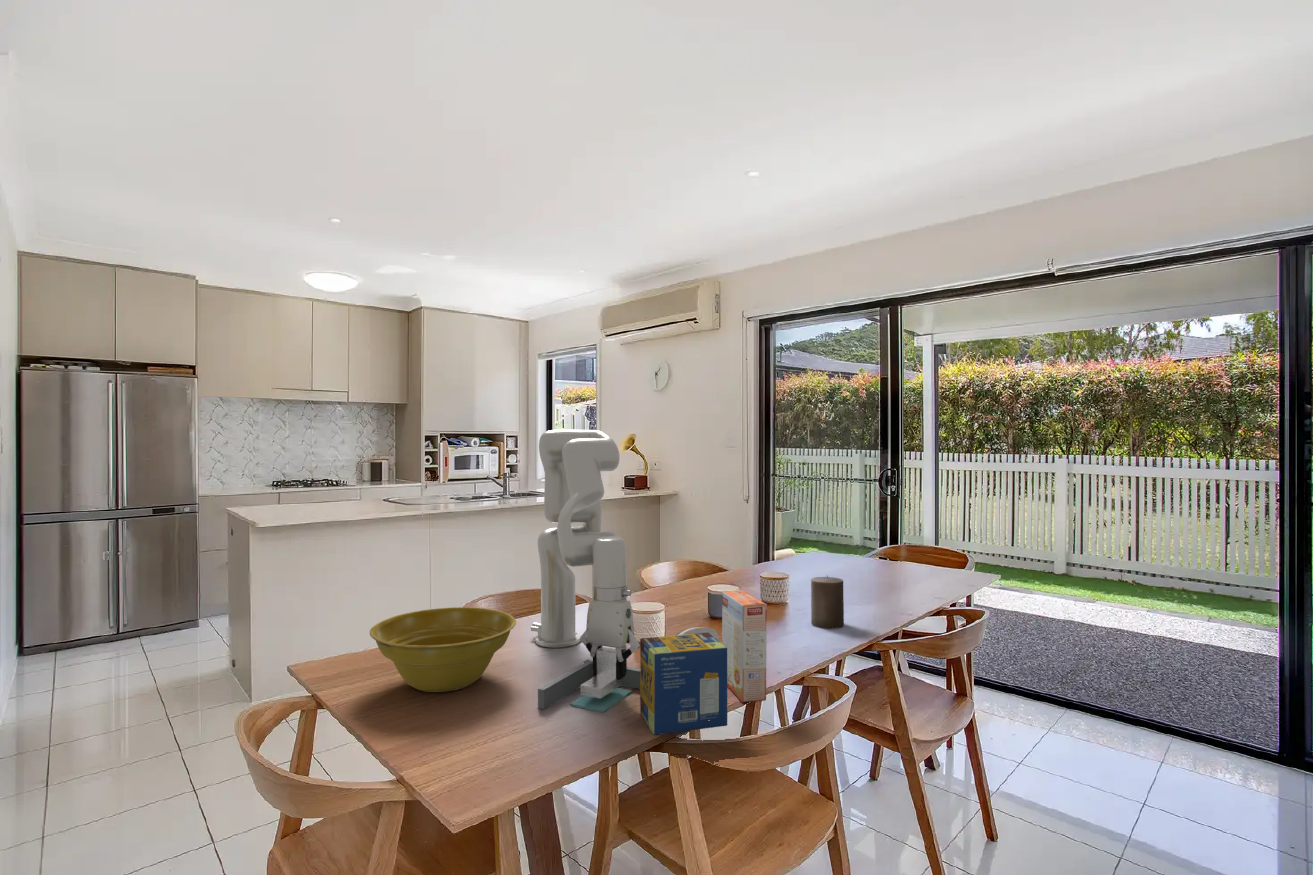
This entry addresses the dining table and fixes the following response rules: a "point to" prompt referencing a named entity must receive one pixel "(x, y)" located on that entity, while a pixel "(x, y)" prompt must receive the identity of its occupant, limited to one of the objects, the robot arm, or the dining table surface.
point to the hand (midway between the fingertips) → (609, 675)
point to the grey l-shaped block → (603, 675)
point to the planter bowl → (442, 645)
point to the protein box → (683, 682)
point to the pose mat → (601, 700)
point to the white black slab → (699, 631)
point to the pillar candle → (827, 602)
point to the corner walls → (578, 683)
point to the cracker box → (745, 644)
